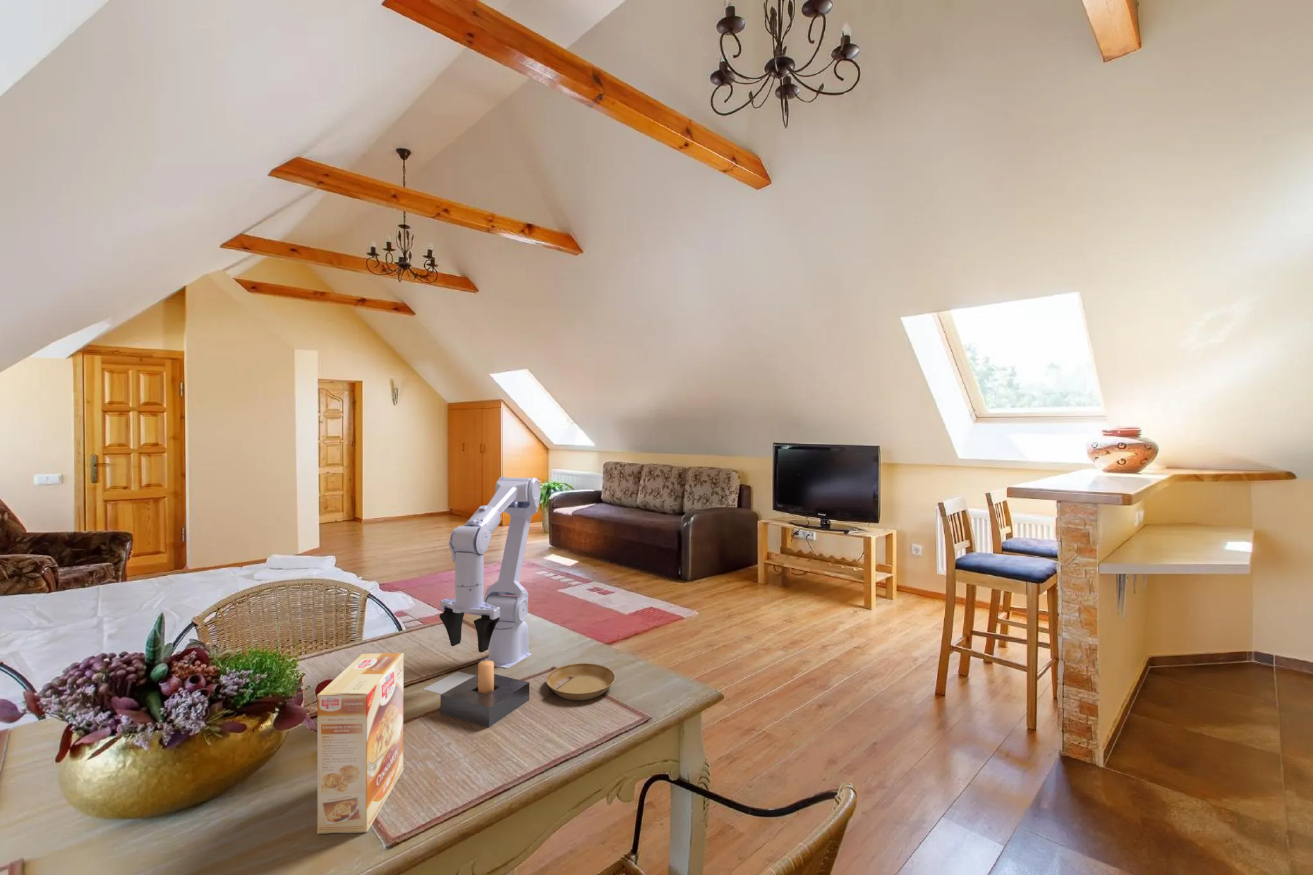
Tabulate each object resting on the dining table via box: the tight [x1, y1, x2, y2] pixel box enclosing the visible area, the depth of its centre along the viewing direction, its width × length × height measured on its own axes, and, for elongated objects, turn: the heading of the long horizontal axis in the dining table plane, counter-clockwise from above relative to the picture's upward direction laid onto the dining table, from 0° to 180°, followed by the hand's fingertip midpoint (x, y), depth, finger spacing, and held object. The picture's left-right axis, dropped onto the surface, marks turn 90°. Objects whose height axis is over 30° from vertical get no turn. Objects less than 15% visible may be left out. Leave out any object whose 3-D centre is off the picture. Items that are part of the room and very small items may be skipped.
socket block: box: [439, 673, 530, 728], centre depth 117 cm, size 12×12×4 cm
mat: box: [422, 671, 476, 695], centre depth 127 cm, size 10×10×1 cm
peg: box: [477, 660, 495, 695], centre depth 117 cm, size 3×3×9 cm
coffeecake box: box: [316, 652, 405, 835], centre depth 88 cm, size 15×7×20 cm, turn 4°
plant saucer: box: [545, 662, 616, 701], centre depth 126 cm, size 15×15×3 cm
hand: (469, 647), depth 124 cm, fingers open, 7 cm apart
